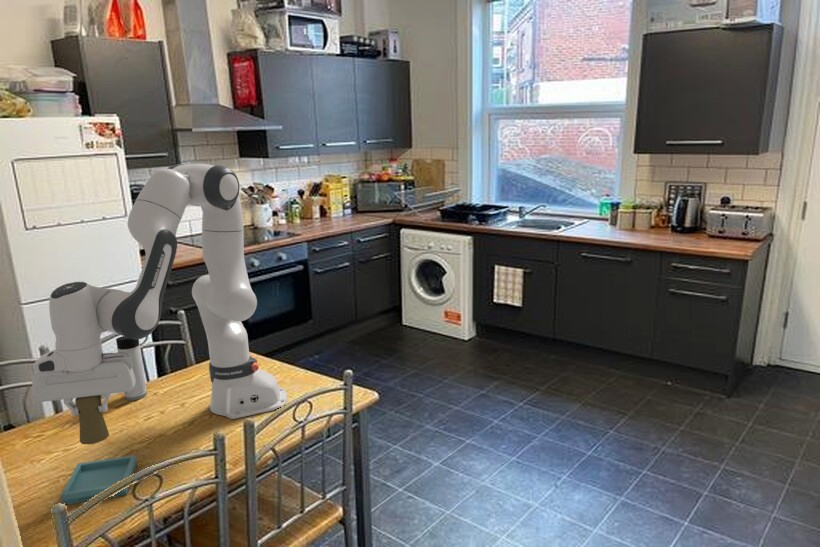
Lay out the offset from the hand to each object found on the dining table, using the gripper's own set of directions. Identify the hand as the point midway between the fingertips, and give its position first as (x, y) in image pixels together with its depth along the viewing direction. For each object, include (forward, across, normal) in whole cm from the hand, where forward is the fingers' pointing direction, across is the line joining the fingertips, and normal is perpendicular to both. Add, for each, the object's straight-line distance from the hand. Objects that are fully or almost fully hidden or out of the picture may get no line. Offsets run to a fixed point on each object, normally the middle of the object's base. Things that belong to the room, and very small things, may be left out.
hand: (90, 412), depth 134 cm
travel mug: (+18, +1, -48) cm, 51 cm away
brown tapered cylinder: (+6, 0, 0) cm, 7 cm away
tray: (+18, 0, 0) cm, 18 cm away
